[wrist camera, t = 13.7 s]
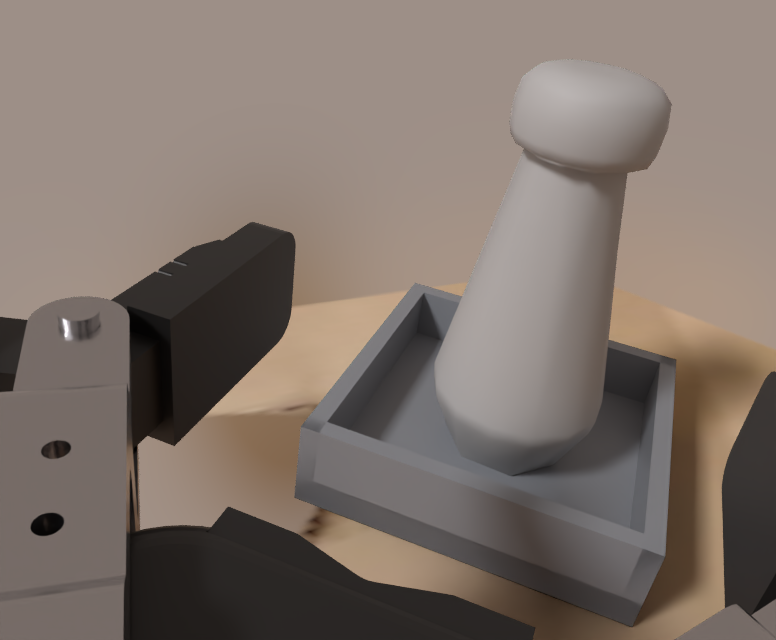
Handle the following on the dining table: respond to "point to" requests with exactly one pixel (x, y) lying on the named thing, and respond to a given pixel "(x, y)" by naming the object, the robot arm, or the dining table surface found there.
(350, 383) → the tray
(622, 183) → the salt shaker
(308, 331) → the dining table surface
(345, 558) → the dining table surface
